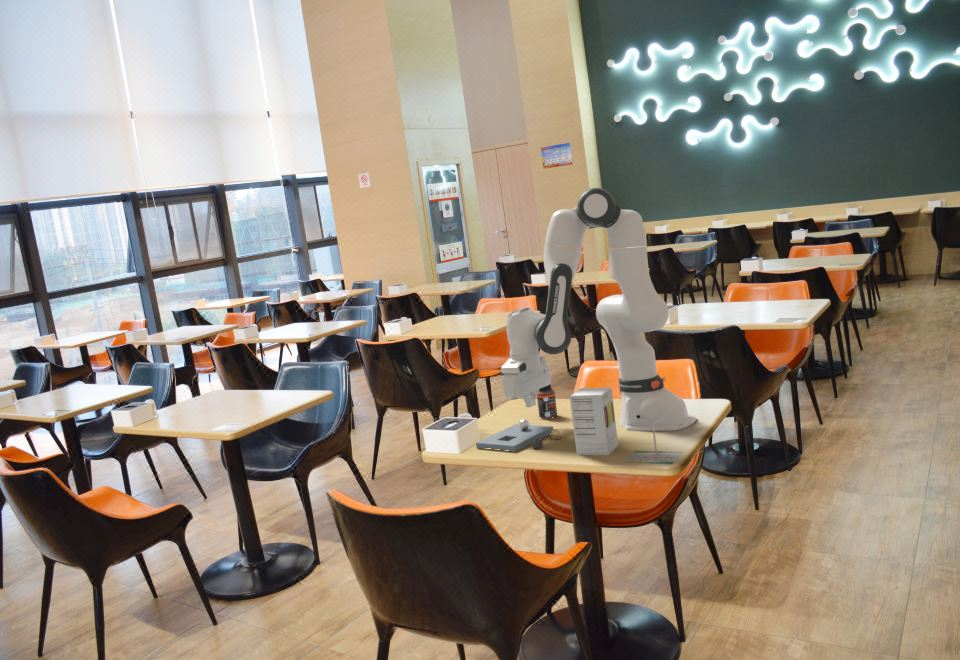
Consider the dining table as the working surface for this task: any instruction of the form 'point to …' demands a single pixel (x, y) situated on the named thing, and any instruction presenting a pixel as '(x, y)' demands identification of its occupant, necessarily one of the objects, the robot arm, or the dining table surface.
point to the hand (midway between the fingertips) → (530, 406)
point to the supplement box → (594, 421)
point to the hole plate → (515, 437)
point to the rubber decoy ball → (537, 444)
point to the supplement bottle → (546, 402)
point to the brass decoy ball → (556, 434)
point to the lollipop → (651, 413)
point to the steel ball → (524, 424)
